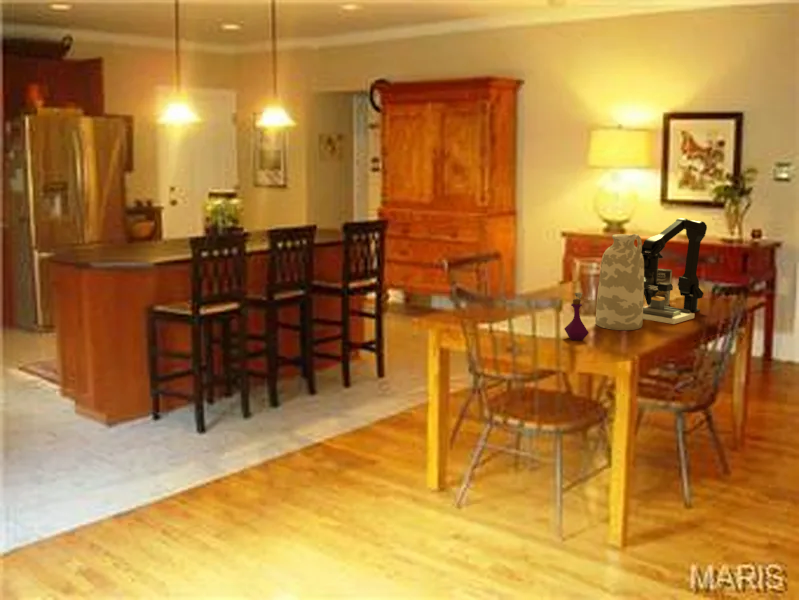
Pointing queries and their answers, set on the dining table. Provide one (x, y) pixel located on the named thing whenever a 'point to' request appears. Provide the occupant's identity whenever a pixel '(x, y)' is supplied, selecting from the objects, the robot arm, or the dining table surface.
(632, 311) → the vase
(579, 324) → the perfume bottle
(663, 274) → the coffee box
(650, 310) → the panel
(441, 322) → the dining table surface
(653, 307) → the lever
